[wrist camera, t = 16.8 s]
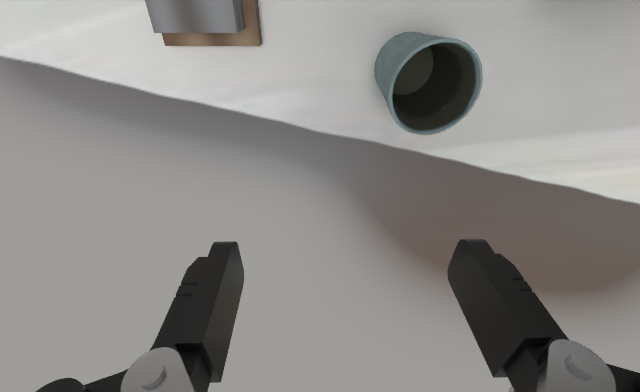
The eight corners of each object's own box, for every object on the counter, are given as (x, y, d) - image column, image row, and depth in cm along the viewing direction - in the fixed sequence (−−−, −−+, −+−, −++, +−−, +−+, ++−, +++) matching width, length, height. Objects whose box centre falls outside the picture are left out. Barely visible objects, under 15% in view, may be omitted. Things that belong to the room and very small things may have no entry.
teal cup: (393, 12, 37) (422, 20, 27) (457, 44, 39) (505, 63, 29) (358, 87, 42) (371, 117, 32) (416, 112, 45) (445, 147, 35)
